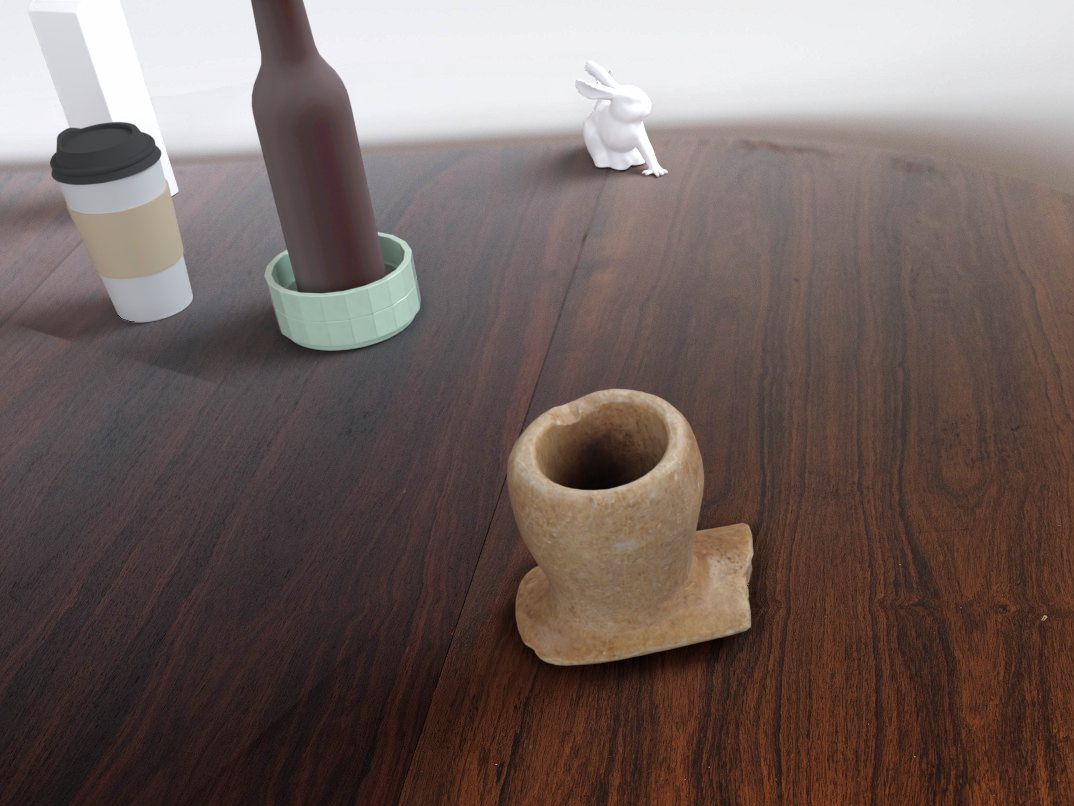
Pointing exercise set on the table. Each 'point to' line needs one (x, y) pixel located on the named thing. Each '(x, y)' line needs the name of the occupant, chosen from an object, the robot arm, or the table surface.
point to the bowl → (347, 303)
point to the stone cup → (621, 534)
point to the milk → (96, 67)
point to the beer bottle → (312, 156)
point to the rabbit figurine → (617, 123)
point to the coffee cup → (124, 217)
